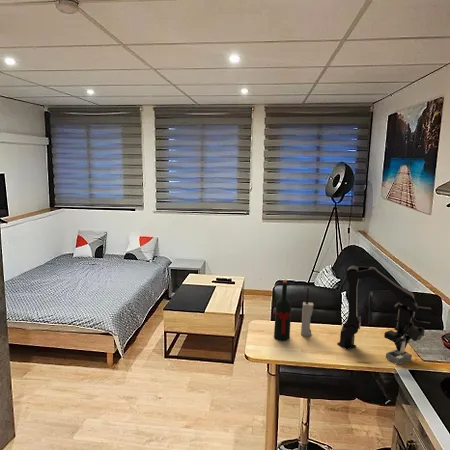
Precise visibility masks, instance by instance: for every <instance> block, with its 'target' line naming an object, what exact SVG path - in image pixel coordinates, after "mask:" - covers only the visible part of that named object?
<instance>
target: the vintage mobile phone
mask: <svg viewBox="0 0 450 450" xmlns="http://www.w3.org/2000/svg"><path fill="white" fill-rule="evenodd" d="M309 290H310V289H309V287H308V288H307V290H306V291H307V292H306V299H305V301H303V302H302V312H301V329H300V330H301V331H300V334H301V336H306V337H312V330H311V317H312V315H313V311H314V302H309Z"/></svg>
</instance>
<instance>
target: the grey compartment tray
mask: <svg viewBox="0 0 450 450" xmlns="http://www.w3.org/2000/svg"><path fill="white" fill-rule="evenodd" d="M397 351H398V350H397V348H396V349H393V350H391V351H388V352H386V353H385V359H386V358H387V360H388V359H389V361H390V360H391V361H390V362H392V361H393V362H392V363H393V364H395V363H396V364H395V365H397V364H398V365H397V366H399V365H401V364H404V363H406V362H410V361H412V356H413V355H412V354H411V353H409V352H407V351H406V350H404V354H403V355H401V354H399V353H397Z"/></svg>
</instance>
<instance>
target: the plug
mask: <svg viewBox="0 0 450 450" xmlns="http://www.w3.org/2000/svg"><path fill="white" fill-rule="evenodd" d="M403 339H404V340H405V341H403V342H402V346H401V350H400V351H397V353H399V354H401V355H403V354H404V351H405V349H406V348H405V342H406V337H405V336H404V337H403Z"/></svg>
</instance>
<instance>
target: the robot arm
mask: <svg viewBox="0 0 450 450" xmlns="http://www.w3.org/2000/svg"><path fill="white" fill-rule="evenodd" d="M345 275H346V281H347V285H348V316H347V319H346V323H344V324H343V325H342V327H341V330H340V335H339V336H340V337H339V341H338V342H337V343H336V344H337V345H338V346H340V347H342V348H344V349H345V350H350V349H354V348H356V347H357V345H356V344H355V337H356V336H355V335H356V334H357V333H358V332H359V330H360V329H361V325H362V323H361V318H362V316H361V315H360V316H359V315H358V285H359V282H360V281H359V280H360V279H367V278H372V279H373V280H375V281H376V282H377V283H379V284H380V285H381V286H383V287H384V288H385V289H386V290H388V291H389V292H390V293H391V294H393V295H394V297H395V299H396V300H398V302H396V304H394V309H397V310H398V312H397V318H395V322H396V326H395V327H394V330H395V331H394V330H388V331H385V332H384V334H383V337H384V338H385V339H387V340H389V341H391V342H393V343H394V345H395V348H396V349H397V350H398V351H400V350H401V346H402V342H403V341H405V340H404V339H403V337H404V336H405V337H406V342H405V349H406V347H407V346H408V344H409V342H410V340H412V341H413V342H417V341H420V340H421V339H422V337H424V336H425V328H424V327H421V326H420V327H418V326H417V325H414V324H415V323H414V321H416V322H421V323H426V324H431V322H432V308H431V307H430V306H420V305H418V303H417V302H416V300H415V295H414V293H413V292H412V291H411V290H408V289H407V288H405V287H402V286H400V285H398V284H397V283H395V282H394V281H393V280H391V279H390V278H389V277H387V276H386V275H385V274H383V273H382V272H381V271H379V269H377V268H376V267H374V266H357V265H350V266H349V267H348V268H347V270H346V273H345ZM412 319H414V321H412Z"/></svg>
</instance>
